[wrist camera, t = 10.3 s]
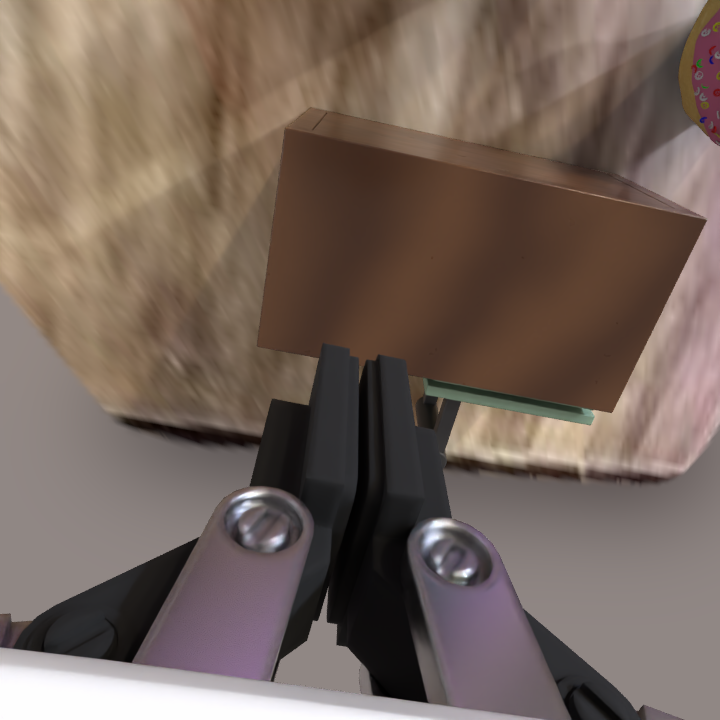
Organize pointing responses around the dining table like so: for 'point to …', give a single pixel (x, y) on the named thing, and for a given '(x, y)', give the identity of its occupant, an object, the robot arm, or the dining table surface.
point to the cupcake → (703, 72)
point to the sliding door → (457, 393)
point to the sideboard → (467, 261)
